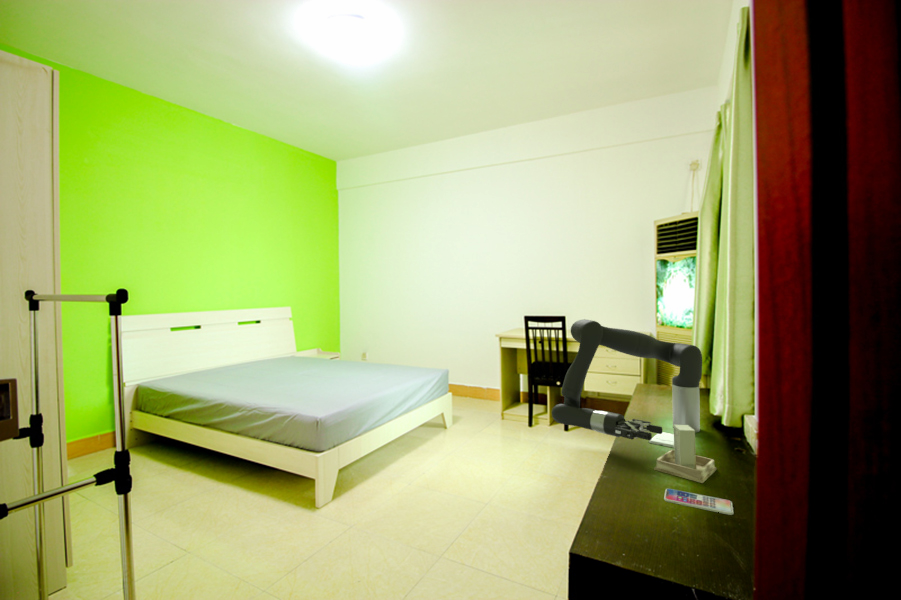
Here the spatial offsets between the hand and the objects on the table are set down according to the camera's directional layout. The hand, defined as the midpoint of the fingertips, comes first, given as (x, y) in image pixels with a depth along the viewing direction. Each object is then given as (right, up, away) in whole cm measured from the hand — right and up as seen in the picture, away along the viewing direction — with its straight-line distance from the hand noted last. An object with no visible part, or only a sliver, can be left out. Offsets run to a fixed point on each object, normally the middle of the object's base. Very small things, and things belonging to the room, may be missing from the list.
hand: (656, 433), depth 133 cm
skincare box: (+6, -9, -6) cm, 12 cm away
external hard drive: (+13, -10, +19) cm, 25 cm away
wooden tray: (+6, -9, -6) cm, 12 cm away
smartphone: (-2, -10, -25) cm, 27 cm away
